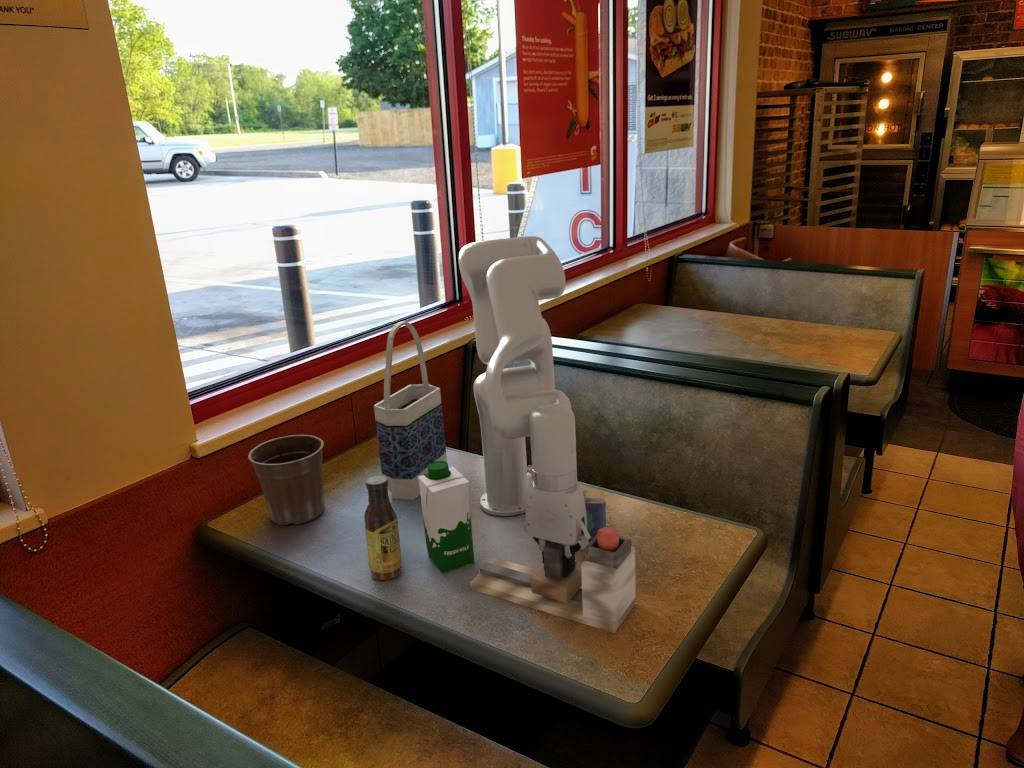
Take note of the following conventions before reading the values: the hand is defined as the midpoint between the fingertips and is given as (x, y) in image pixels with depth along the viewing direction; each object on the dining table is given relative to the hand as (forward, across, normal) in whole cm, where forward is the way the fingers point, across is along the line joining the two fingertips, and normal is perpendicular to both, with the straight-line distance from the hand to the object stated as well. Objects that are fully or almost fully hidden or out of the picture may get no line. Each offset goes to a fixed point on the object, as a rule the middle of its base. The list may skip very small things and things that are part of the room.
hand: (559, 569), depth 135 cm
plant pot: (+7, -70, +3) cm, 70 cm away
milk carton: (+6, -26, +2) cm, 26 cm away
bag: (+7, -54, +27) cm, 60 cm away
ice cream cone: (+6, -44, +3) cm, 44 cm away
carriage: (+3, 0, 0) cm, 3 cm away
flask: (+7, -6, +21) cm, 23 cm away
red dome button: (-7, +10, 0) cm, 12 cm away
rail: (+6, -2, 0) cm, 7 cm away
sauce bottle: (+6, -34, -7) cm, 36 cm away
